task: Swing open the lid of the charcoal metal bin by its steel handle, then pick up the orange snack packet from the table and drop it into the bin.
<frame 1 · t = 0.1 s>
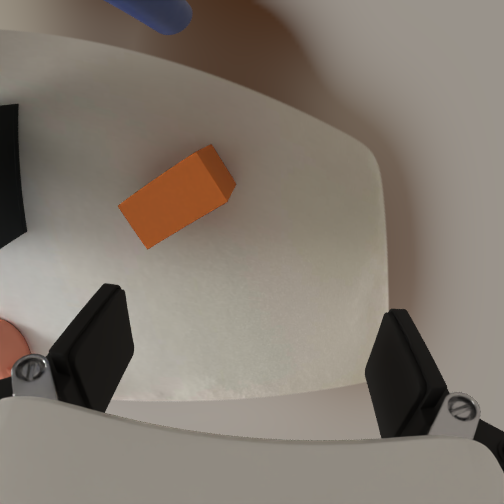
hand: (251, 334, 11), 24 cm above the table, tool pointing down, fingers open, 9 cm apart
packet: (188, 185, 34), on the table
teapot: (8, 339, 47), on the table
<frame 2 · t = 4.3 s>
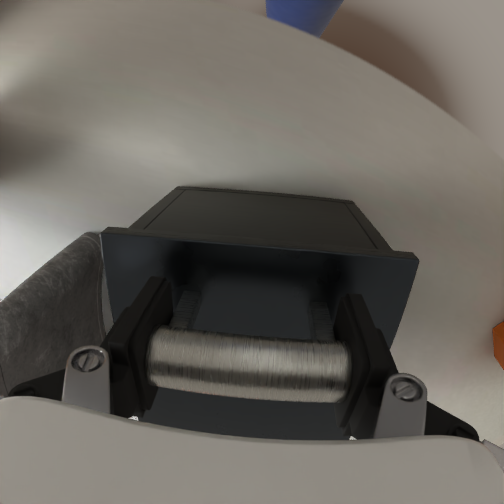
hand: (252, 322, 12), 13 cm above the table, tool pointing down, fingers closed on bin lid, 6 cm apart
bin lid: (242, 438, 14), point 14 cm above the table, hinge at 0.0°, touching gripper
bin: (256, 299, 27), on the table
flask: (91, 300, 28), on the table
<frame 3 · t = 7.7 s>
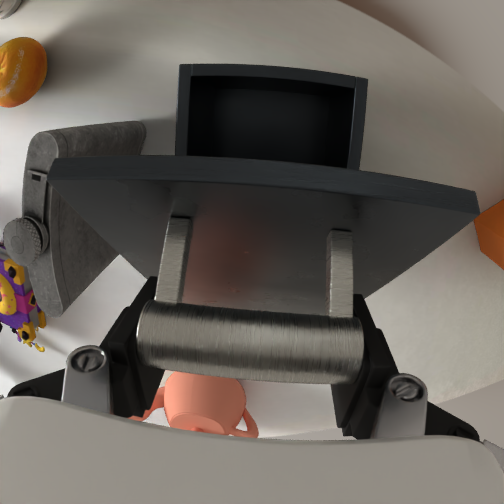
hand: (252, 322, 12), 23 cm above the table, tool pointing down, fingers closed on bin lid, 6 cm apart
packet: (501, 219, 32), on the table
bin lid: (253, 319, 16), point 20 cm above the table, hinge at 46.9°, touching gripper
bin: (267, 169, 32), on the table
teapot: (201, 387, 45), on the table
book: (13, 275, 40), on the table
travel mug: (12, 0, 23), on the table
fruit: (33, 72, 28), on the table
flask: (125, 184, 34), on the table
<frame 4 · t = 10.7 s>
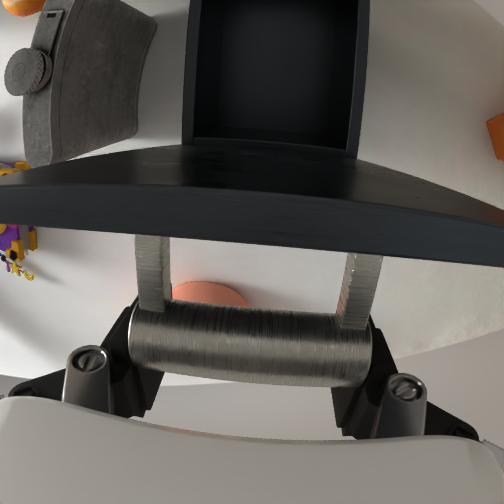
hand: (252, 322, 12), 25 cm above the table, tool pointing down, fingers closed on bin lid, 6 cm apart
bin lid: (262, 218, 14), point 21 cm above the table, hinge at 83.8°, touching gripper
bin: (276, 55, 28), on the table
teapot: (202, 312, 43), on the table
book: (7, 194, 37), on the table
flask: (132, 76, 30), on the table
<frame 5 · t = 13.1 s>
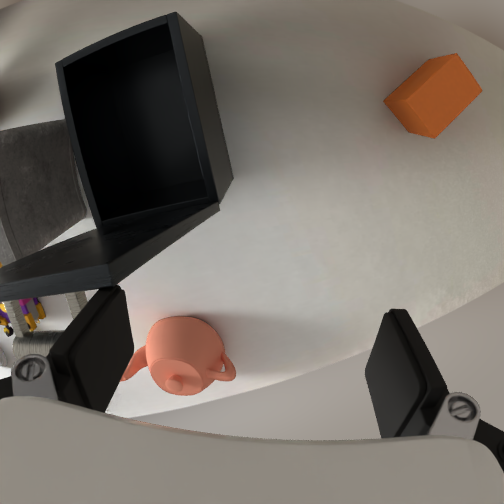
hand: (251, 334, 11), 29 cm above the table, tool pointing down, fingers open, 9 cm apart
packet: (419, 95, 32), on the table
bin lid: (108, 276, 20), point 21 cm above the table, hinge at 79.6°, touching gripper
bin: (165, 119, 35), on the table
teapot: (183, 341, 49), on the table
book: (12, 279, 47), on the table
flask: (69, 170, 38), on the table
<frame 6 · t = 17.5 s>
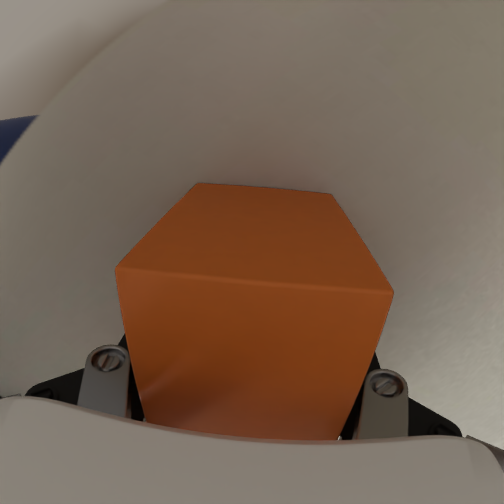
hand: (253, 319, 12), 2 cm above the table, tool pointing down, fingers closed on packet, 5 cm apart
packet: (255, 294, 14), on the table, touching gripper
when the fingers open (11 cm above the table, at t = 26.0 s): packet drops 9 cm, resting on bin.
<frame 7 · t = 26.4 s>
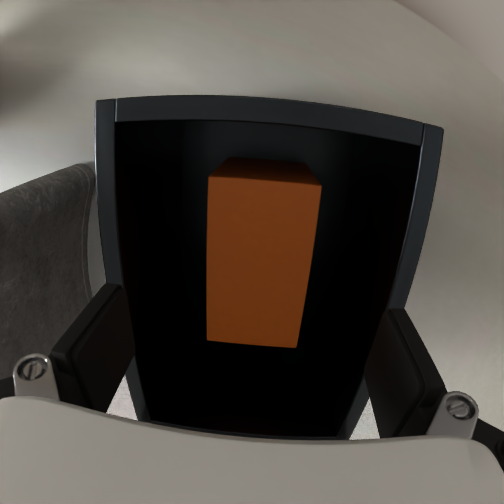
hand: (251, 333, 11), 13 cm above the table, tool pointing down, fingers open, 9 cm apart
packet: (262, 225, 22), point 1 cm above the table, touching bin
bin: (261, 234, 23), on the table
flask: (76, 245, 25), on the table
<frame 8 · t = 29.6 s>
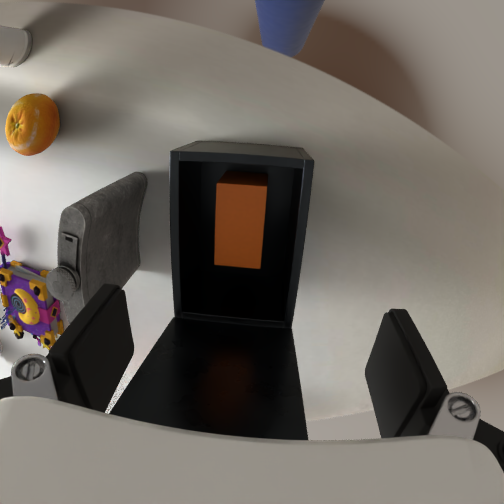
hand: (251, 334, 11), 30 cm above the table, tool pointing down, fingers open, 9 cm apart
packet: (244, 208, 40), point 1 cm above the table, touching bin
bin lid: (219, 395, 26), point 21 cm above the table, hinge at 77.8°
bin: (244, 213, 41), on the table
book: (34, 290, 49), on the table
travel mug: (20, 48, 32), on the table
fruit: (47, 122, 37), on the table
flask: (131, 222, 43), on the table
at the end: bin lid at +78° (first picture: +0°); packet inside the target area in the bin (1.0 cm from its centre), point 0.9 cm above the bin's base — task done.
